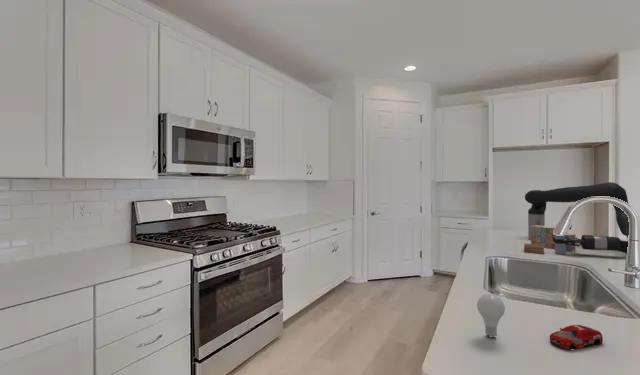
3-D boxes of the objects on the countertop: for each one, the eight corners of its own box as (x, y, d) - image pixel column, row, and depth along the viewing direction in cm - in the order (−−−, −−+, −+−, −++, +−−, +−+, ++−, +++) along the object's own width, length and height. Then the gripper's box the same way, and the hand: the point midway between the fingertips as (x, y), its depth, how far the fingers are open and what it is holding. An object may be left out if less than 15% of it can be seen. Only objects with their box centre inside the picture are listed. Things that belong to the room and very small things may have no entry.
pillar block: (555, 252, 178) (554, 230, 178) (564, 253, 177) (563, 231, 176) (556, 254, 175) (556, 231, 175) (565, 254, 173) (565, 232, 173)
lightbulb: (473, 331, 87) (472, 290, 87) (497, 331, 87) (496, 290, 87) (484, 342, 81) (484, 299, 81) (510, 342, 81) (509, 299, 81)
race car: (565, 353, 76) (564, 336, 76) (544, 342, 82) (544, 326, 81) (608, 345, 79) (608, 329, 79) (585, 335, 84) (585, 320, 84)
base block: (524, 250, 188) (524, 243, 188) (543, 251, 183) (543, 244, 182) (524, 253, 180) (524, 245, 180) (543, 254, 175) (543, 247, 175)
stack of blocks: (575, 250, 183) (575, 229, 183) (569, 252, 180) (569, 229, 180) (536, 244, 202) (536, 224, 202) (530, 245, 199) (530, 225, 199)
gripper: (590, 233, 175) (551, 231, 183) (598, 237, 163) (556, 235, 171) (590, 247, 175) (551, 244, 183) (598, 252, 163) (556, 249, 171)
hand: (554, 240), depth 177 cm, fingers closed on pillar block, 4 cm apart
